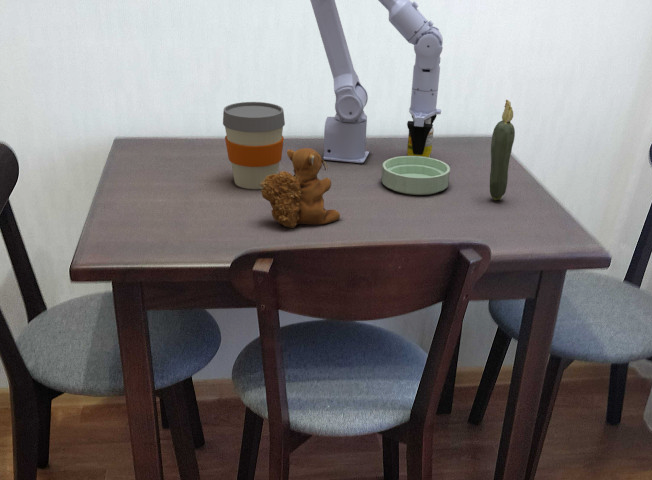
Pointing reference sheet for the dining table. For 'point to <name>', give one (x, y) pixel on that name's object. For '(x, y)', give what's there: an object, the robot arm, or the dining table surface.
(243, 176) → the reusable coffee cup
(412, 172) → the bowl
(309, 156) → the stuffed squirrel
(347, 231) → the dining table surface
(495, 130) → the vegetable
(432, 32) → the robot arm
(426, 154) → the supplement bottle
